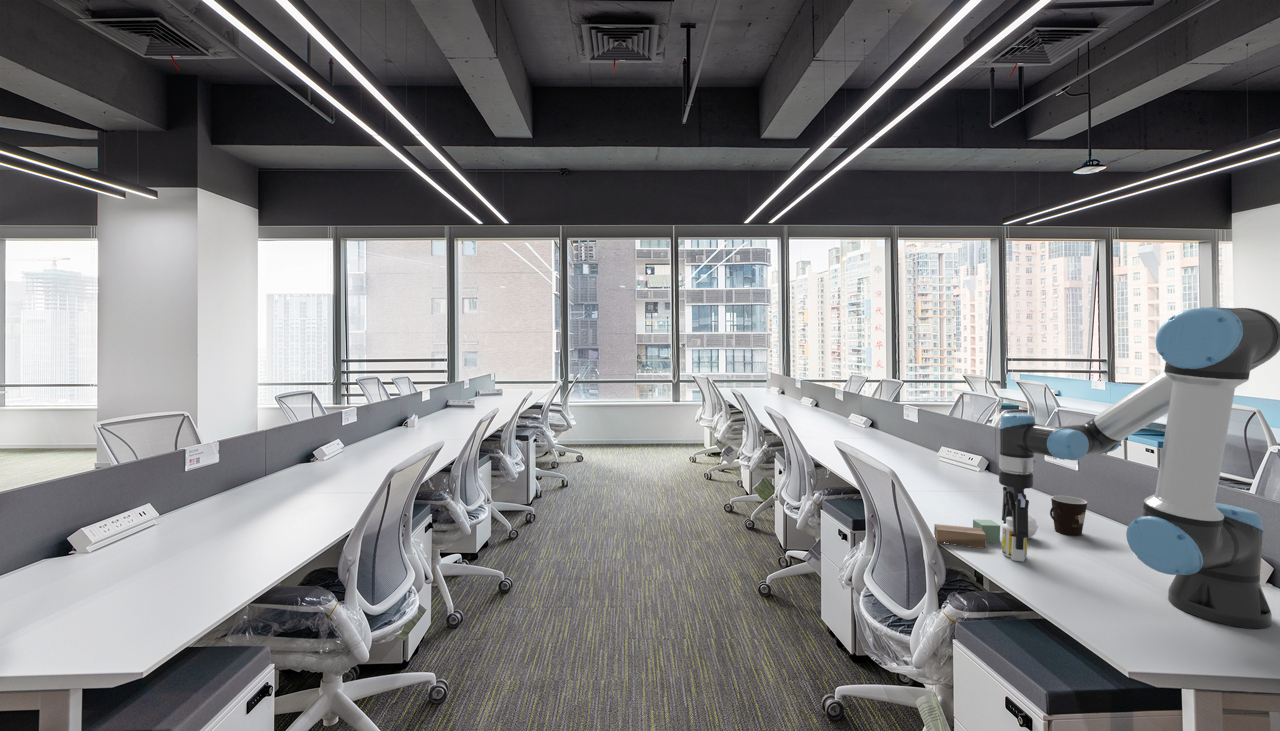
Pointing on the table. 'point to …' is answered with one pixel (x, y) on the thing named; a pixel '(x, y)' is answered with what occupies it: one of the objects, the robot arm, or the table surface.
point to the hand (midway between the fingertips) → (1013, 554)
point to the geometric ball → (1031, 526)
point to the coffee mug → (1068, 514)
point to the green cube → (988, 529)
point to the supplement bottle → (1009, 538)
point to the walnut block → (960, 535)
